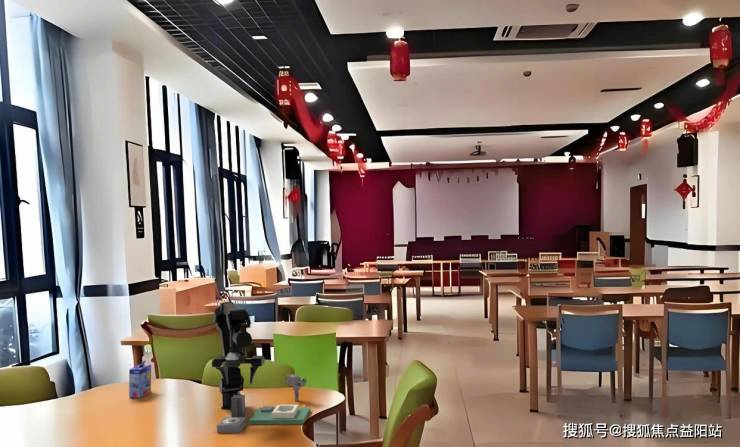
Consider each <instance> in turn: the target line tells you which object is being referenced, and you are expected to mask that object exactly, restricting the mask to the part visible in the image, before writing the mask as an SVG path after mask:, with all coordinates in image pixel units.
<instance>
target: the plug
mask: <svg viewBox="0 0 740 447" xmlns="http://www.w3.org/2000/svg"><path fill="white" fill-rule="evenodd" d="M230 410H231V417H246V394H241V395H234V396H233V397H232V398H231V409H230Z"/></svg>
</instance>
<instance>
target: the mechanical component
mask: <svg viewBox="0 0 740 447" xmlns="http://www.w3.org/2000/svg"><path fill="white" fill-rule="evenodd" d="M285 379H286V384H287V385H288V386H291V387H293V391H294V402H298V400H299V399H300V397H299V394H300V393H299V391H300V390H301V389H300V388H302V387H305V386H306V385H307V378H306V377H302V378H301V376H300V375H298V374H293V373H290V374H287V375H286V376H285ZM299 401H300V400H299Z"/></svg>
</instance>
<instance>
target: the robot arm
mask: <svg viewBox="0 0 740 447" xmlns="http://www.w3.org/2000/svg"><path fill="white" fill-rule="evenodd" d="M212 316H213V317H212V319H213V321H212V322H213V323H214V324H215V329H216V330H217V332H219V333H220V334H219V335H220V342H221V348H222V355H221V356H219V355H218V356H216V357H214V358H213V359H212V360H211V367H212V368H215V370H218V371H219V372H220V374H221V378H220V379H219V384H218V386H219V387H218V388H219V393H220V394H221V395H222V406H220V409H222V410H224V409H225V410H226V409H227V410H232V409H231V398H232V397H233V396H234V395H242V393H241V392H242V391H243V390H244V383H245V378H244V377H243V375H242V372H241V368H240V366H241V365H245V364H248V365H249V364H250V365H251V366H250V368H249V369H250V376H249V383H250V384H249V385H252V384H253V382H254V379H255V376H256V372H257V370H258V369H259V368H260V367H262V366H263V365H264V364H265V360H266V358H265V357H264V355H253V356H252V357H251V358H247V357H248V356H247V355H248V354H247V350H246V349H247V347H249V346H250V345H251V344H252V341H253V338H252V335H251V333H250V332H248V331H247V329H251V325H252V322H251V321H252V320H251V317H250V314H249V312H248V311H247V309H246V308H243V307H242V308H238V307H237V306H236V305H235V304H234V301H222V302H220V304H219V306H218V307H217V308H216V309H214V311H213V315H212Z"/></svg>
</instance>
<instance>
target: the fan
mask: <svg viewBox="0 0 740 447" xmlns="http://www.w3.org/2000/svg"><path fill="white" fill-rule="evenodd" d="M246 425H247V417H246V416H245V417H232V416H231V417H228V416H227V417H226V416H225V417H224V418H222V419H221V420H220V421H219V423H218V424H217V425H216V433H217V434H219V433H220V434H221V433H223V434H224V433H227V434H228V433H229V434H231V433H232V434H233V433H235V434H236V433H241V431H242V430H243V429H244V428H245V427H246Z"/></svg>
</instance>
